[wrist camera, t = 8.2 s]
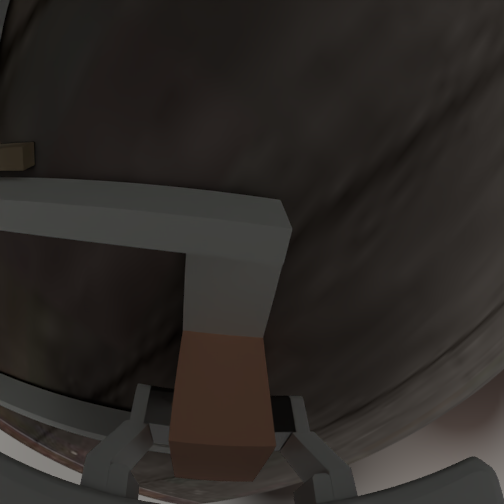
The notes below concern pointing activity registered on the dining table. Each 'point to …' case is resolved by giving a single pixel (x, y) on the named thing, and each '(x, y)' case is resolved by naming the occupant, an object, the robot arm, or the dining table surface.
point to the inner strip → (3, 13)
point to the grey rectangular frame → (194, 311)
